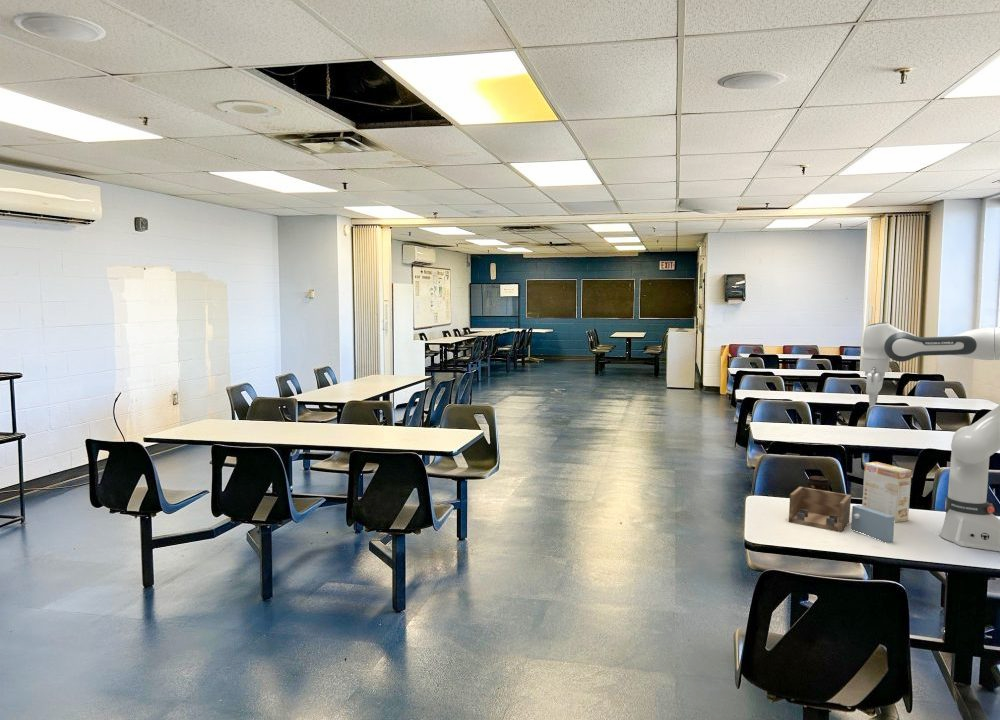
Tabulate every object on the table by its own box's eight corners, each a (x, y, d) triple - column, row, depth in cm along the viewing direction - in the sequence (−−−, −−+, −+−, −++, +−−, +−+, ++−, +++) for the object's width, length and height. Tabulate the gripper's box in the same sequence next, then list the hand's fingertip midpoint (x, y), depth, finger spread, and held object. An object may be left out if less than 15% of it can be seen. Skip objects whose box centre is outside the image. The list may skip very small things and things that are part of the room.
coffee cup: (831, 509, 270) (832, 477, 269) (828, 514, 263) (830, 481, 262) (807, 505, 275) (808, 473, 274) (803, 510, 268) (805, 478, 267)
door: (892, 542, 234) (894, 516, 233) (883, 543, 232) (885, 517, 232) (857, 529, 247) (858, 504, 246) (848, 530, 245) (850, 506, 244)
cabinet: (849, 522, 254) (850, 495, 253) (841, 532, 243) (843, 503, 242) (798, 513, 265) (799, 486, 264) (788, 521, 254) (790, 494, 253)
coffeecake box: (909, 520, 257) (912, 470, 256) (895, 522, 255) (898, 471, 253) (874, 509, 271) (877, 461, 269) (861, 511, 268) (864, 462, 267)
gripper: (882, 369, 239) (880, 408, 240) (887, 365, 256) (885, 401, 257) (862, 368, 242) (860, 406, 244) (868, 364, 260) (866, 400, 261)
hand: (873, 404), depth 251 cm, fingers open, 8 cm apart
